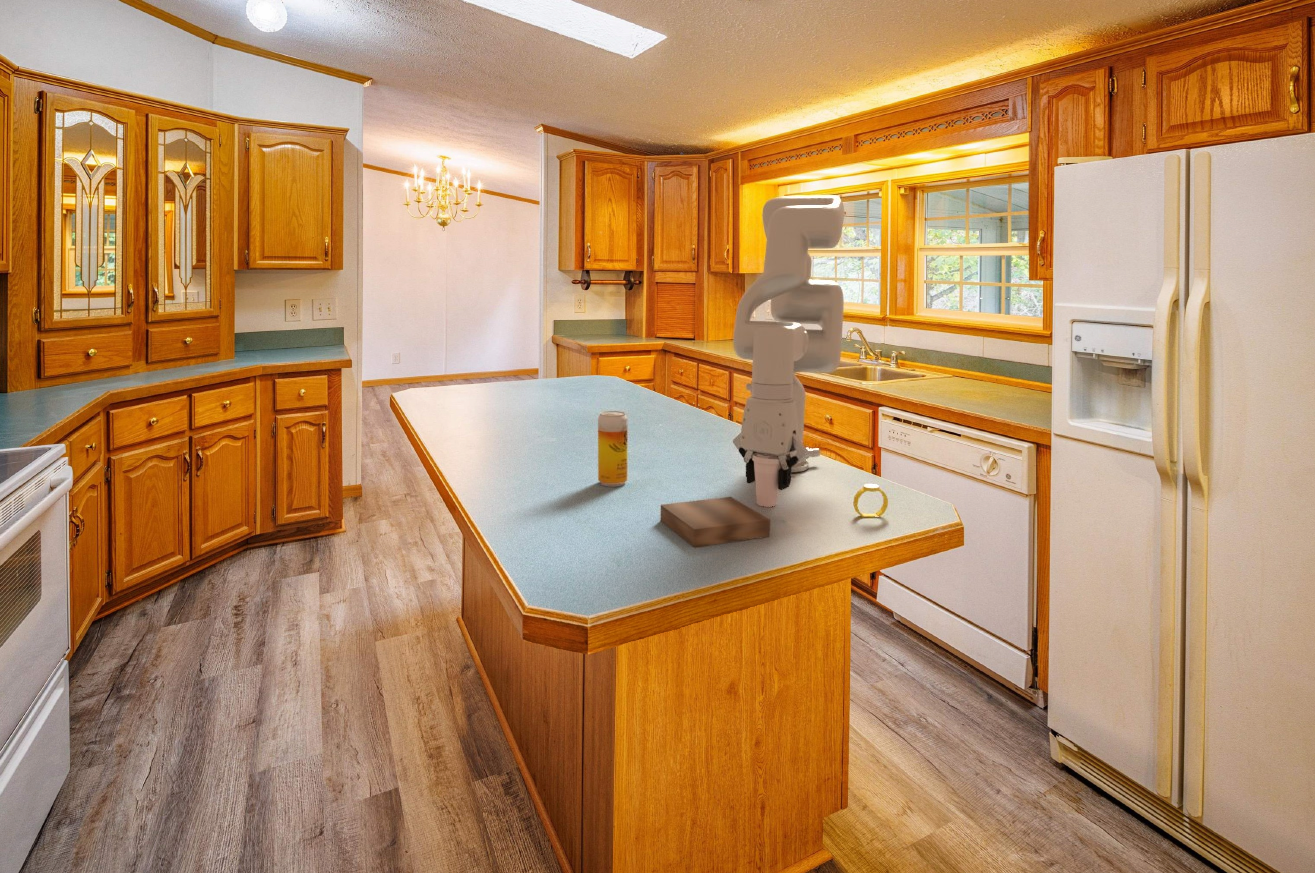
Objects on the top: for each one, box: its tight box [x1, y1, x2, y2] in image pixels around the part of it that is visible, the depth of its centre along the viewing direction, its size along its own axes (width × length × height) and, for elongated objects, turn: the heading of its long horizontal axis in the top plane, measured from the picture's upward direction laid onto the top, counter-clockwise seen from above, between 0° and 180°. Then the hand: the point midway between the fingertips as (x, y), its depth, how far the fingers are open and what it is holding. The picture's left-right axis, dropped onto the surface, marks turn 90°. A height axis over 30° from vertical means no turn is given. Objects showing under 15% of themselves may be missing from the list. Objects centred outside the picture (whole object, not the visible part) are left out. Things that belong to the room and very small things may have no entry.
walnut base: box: [660, 496, 771, 548], centre depth 126 cm, size 14×14×3 cm
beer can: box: [597, 410, 628, 488], centre depth 151 cm, size 6×6×15 cm
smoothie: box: [752, 452, 782, 508], centre depth 139 cm, size 6×6×14 cm
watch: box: [853, 483, 889, 518], centre depth 133 cm, size 6×3×6 cm, turn 93°
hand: (767, 484), depth 139 cm, fingers closed on smoothie, 6 cm apart
